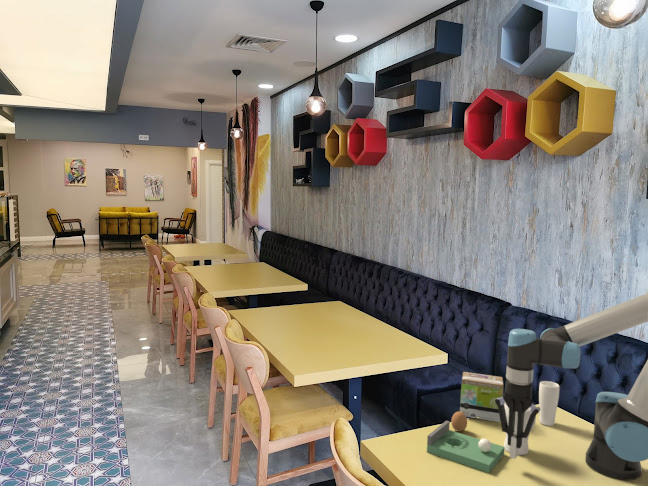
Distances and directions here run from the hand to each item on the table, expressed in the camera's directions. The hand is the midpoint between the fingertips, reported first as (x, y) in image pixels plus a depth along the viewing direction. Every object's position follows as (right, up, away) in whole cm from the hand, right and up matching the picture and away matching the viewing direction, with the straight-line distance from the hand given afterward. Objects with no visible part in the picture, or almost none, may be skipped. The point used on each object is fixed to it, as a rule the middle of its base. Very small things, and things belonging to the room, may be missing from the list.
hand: (513, 456), depth 155 cm
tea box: (+2, -1, +40) cm, 40 cm away
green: (-12, -3, +9) cm, 15 cm away
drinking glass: (+25, -2, +34) cm, 43 cm away
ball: (-7, +1, +5) cm, 9 cm away
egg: (-10, -2, +25) cm, 27 cm away
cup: (+6, -3, +13) cm, 14 cm away
